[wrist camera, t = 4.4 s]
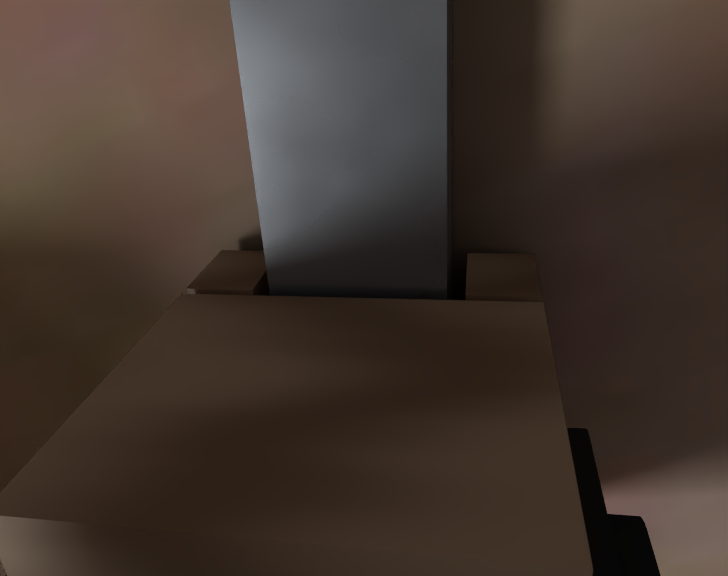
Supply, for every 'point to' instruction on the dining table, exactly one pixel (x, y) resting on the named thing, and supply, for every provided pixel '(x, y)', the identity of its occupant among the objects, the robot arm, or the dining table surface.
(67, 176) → the dining table surface
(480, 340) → the block
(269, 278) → the rail
